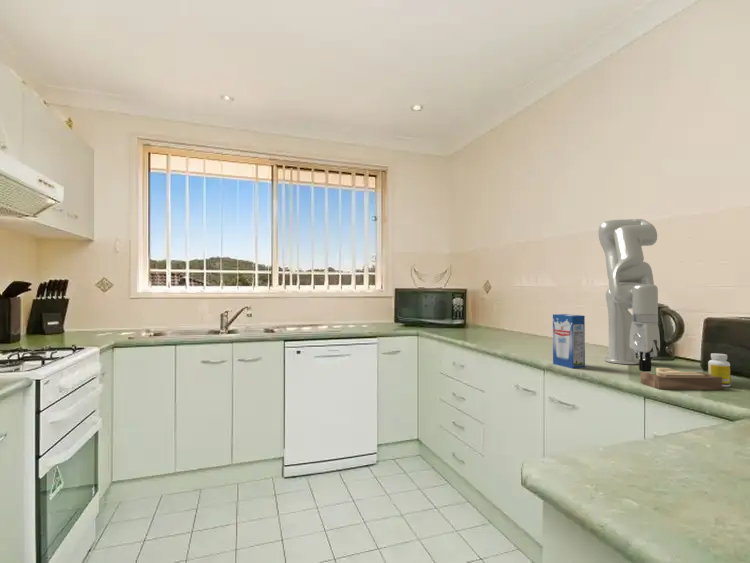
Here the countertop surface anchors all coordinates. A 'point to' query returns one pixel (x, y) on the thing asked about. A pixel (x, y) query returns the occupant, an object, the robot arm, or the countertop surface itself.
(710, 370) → the supplement bottle
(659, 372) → the t block
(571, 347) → the milk carton
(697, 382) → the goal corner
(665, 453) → the countertop surface
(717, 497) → the countertop surface
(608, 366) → the countertop surface
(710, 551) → the countertop surface
